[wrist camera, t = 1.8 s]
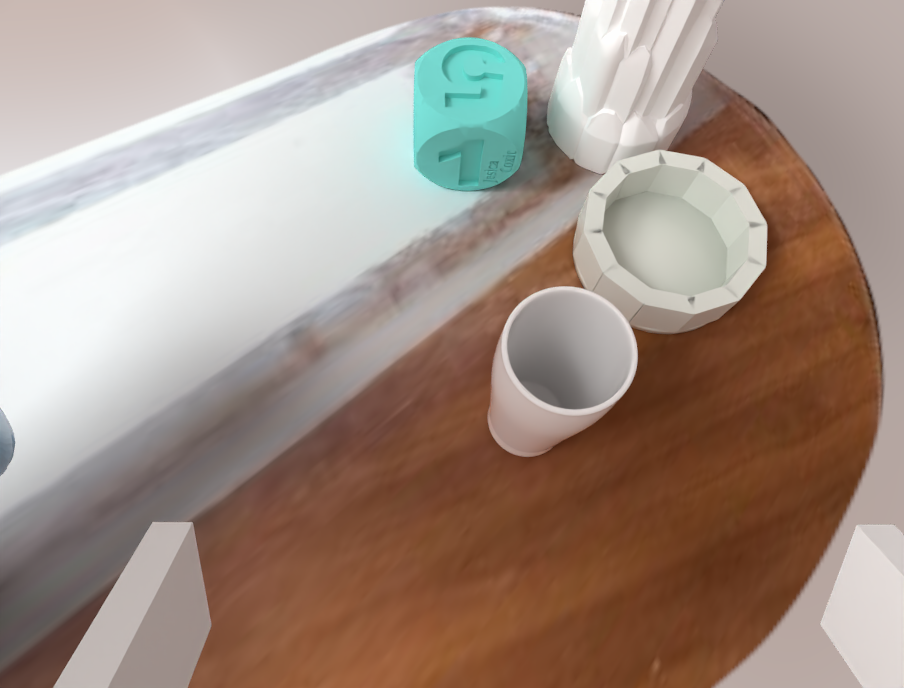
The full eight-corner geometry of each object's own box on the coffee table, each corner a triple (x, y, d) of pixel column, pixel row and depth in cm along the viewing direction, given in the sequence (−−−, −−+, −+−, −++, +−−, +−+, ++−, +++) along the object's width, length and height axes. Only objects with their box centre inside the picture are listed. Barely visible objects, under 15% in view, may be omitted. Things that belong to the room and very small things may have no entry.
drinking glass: (559, 482, 43) (624, 435, 29) (463, 451, 43) (482, 390, 29) (582, 391, 45) (653, 306, 31) (492, 362, 46) (521, 266, 32)
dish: (562, 315, 47) (574, 290, 43) (583, 171, 52) (596, 137, 48) (735, 349, 47) (764, 328, 43) (741, 202, 51) (768, 169, 47)
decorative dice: (414, 190, 51) (412, 123, 43) (417, 109, 53) (415, 33, 46) (514, 193, 51) (529, 126, 43) (511, 112, 54) (525, 37, 46)
